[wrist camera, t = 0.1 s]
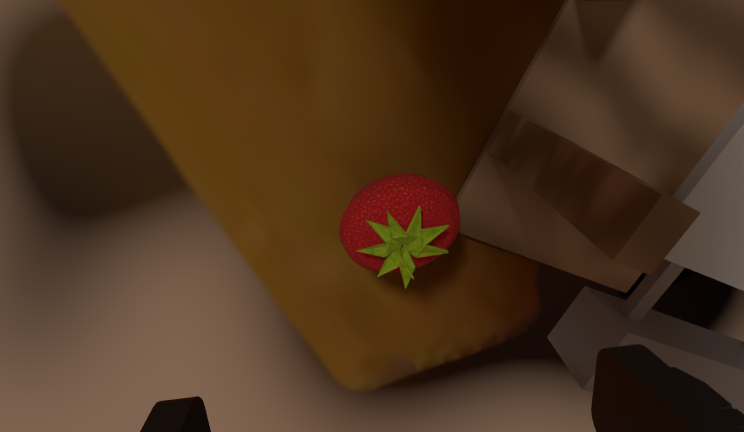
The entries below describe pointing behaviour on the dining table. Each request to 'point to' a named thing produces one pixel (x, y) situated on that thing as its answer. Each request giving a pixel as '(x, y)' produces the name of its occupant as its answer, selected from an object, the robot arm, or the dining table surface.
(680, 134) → the stand
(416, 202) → the strawberry
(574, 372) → the trapdoor
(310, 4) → the dining table surface
